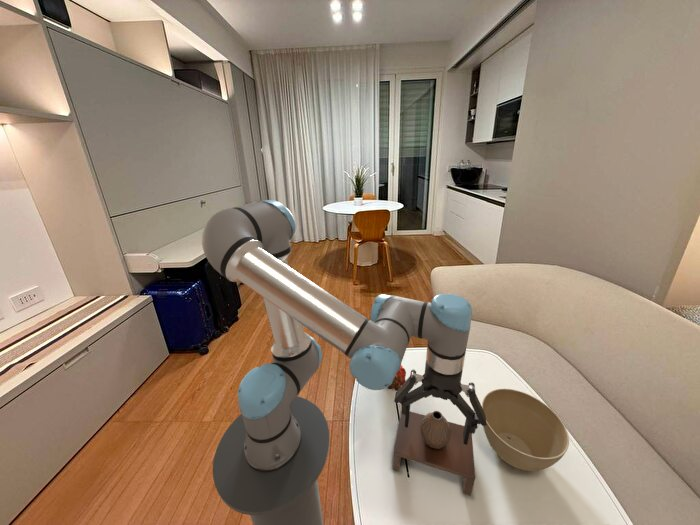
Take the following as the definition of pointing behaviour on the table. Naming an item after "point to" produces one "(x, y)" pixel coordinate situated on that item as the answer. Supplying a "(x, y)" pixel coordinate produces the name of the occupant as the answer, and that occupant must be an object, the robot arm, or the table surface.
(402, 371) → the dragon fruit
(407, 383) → the robot arm
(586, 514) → the table surface
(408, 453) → the shelf
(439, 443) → the vase
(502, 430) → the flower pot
